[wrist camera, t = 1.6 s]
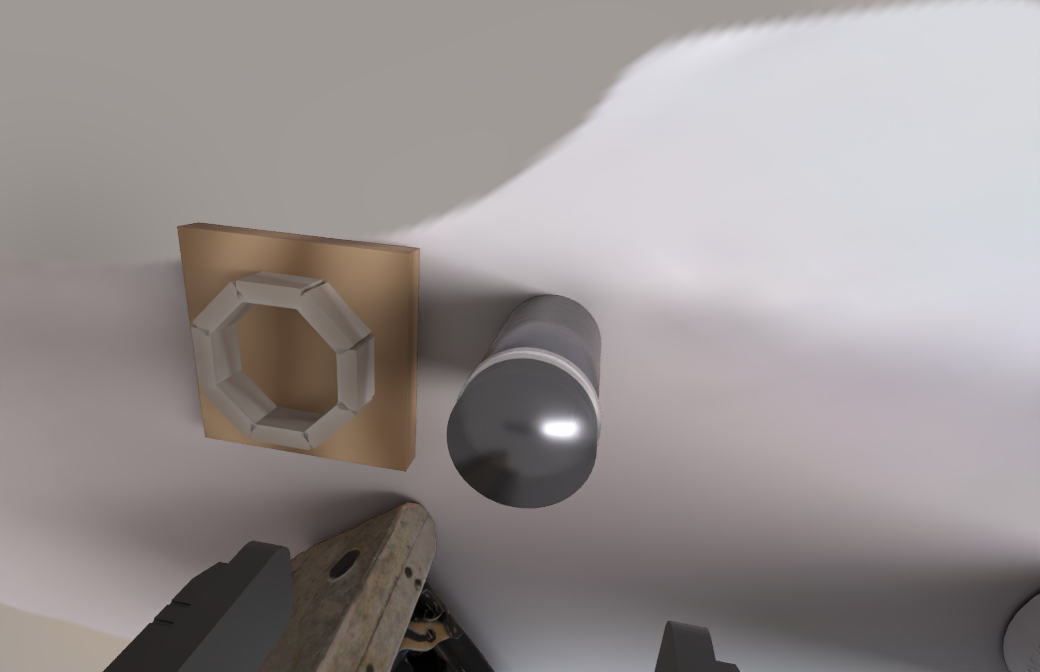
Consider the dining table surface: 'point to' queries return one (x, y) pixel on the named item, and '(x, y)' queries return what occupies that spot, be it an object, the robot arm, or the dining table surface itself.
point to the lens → (531, 407)
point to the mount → (304, 342)
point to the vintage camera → (372, 604)
